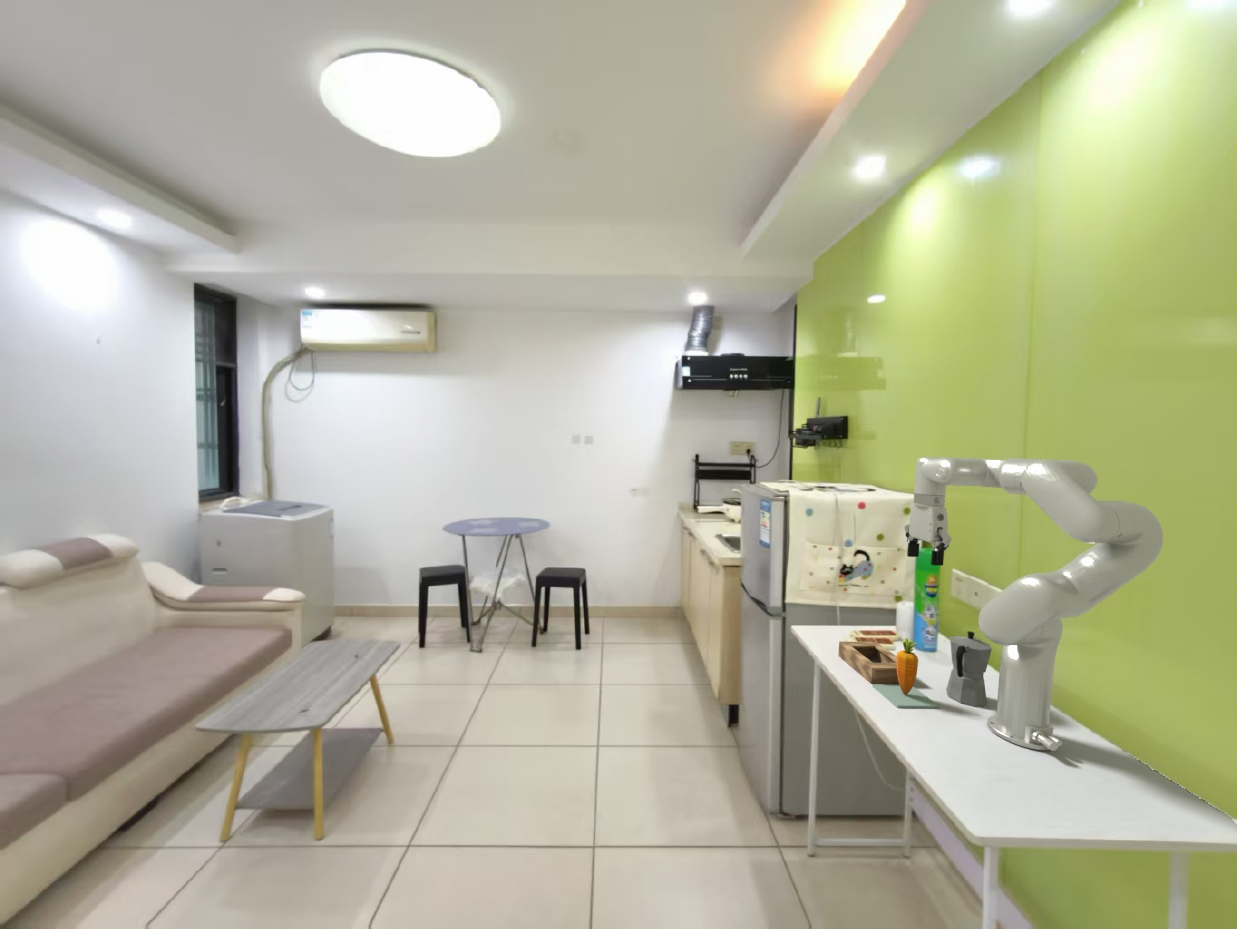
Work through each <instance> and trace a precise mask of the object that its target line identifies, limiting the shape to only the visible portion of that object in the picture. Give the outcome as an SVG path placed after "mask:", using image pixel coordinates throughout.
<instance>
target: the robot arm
mask: <svg viewBox="0 0 1237 929" xmlns="http://www.w3.org/2000/svg"><path fill="white" fill-rule="evenodd" d="M1097 484H1098V476H1097V473H1096V471H1095V470H1094V469H1093V468H1092V467H1091V466H1090V465H1088V464H1086V463H1084V462H1081V461H1077V460H1072V459H1070V460H1069V459H1051V458H1050V459H1048V458H1027V457H1026V458H1023V457H1022V458H1021V457H1010V458H1008V459H995V458H994V459H993V458H991V459H989V458H976V457H974V458H972V457H952V456H951V457H938V456H937V457H936V456H921V457H918V458H917V460H916V465H915V479H914V491H913V492H914V493H913V504H912V507H911V512H910V517H909V523H907V524H906V525H904V531H905V537H906V543H907V551H906V552H907V553H906V556H907V557H908V558H919V556H920V555H919V554H920V543H919V541H923V542H927V543H930V545H931V546H932V550H931V558H930V565H931V566H944V558H945V556H944V555H945V552H946V551H947V549H948V548H949V546H950V543H951V542H952V537H951V535H949V533H948V532H949V524H948V523H949V522H948V521H949V520H948V519H949V518H948V512H947V507H946V505H945V504H946V494H947V493H946V492H947V486H951V487H952V486H954V487H961V486H963V487H980V488H981V487H982V488H983V487H984V488H994V489H1002V490H1004V492H1007V493H1008V494H1014V495H1015V494H1016V495H1024V496H1026V495H1027V496H1029V498H1030V499H1031V500H1032V501H1033V502H1034V503H1035V504H1036V505H1037V506H1038V507H1039V508H1040V510H1041V511H1043V513H1044V514H1045V515H1046V516H1048V517H1049V519H1050V520H1051V521H1053V522H1054V523H1055V525H1057V527H1058V528H1060V530H1062V531H1063V533H1065V534H1066V535H1068V536H1069V537H1071V538H1072V539H1073V540H1076V541H1078V542H1081V543H1086V544H1093V546H1091V547H1090V548H1088V549H1086V550H1084V551H1083V552H1081V553H1080V554H1078V555H1077V556H1076V557H1074V559H1072V560H1071V561H1070V562H1069V563H1067V564H1066V565H1064V566H1063V567H1061V568H1059V569H1057V570H1054V571H1050V572H1049V571H1048V572H1039V573H1038V572H1037V573H1029V574H1027V575H1024V576H1021V577H1019V578H1017V579H1015V580H1014V581H1013V582H1011V584H1009V585H1008V586H1007V587H1005V588H1003V590H1001V591H1000V592H999V593H998V594H997V595H995V596H993V598H991V600H990V601H988V602H987V603H986V604H985V605H984V606H983V607H982V608H981V610H980V612H979V614H978V620H977V621H978V626H979V630H980V631H981V633H982V634H983V635H984V637H986V638H987V639H988V640H989V641H990V642H992V643H994V644H997V645H1000V646H1002V649H1001V653H1000V662H999V664H1000V665H999V675H998V676H999V677H998V687H997V688H998V689H997V698H996V699H997V701H996V714H995V715H991V716H988V717H987V721H986V722H987V727H988V728H989V730H991V731H992V733H994V734H995V735H997V736H999V737H1000V738H1002V739H1003V740H1006V741H1007V742H1010V743H1012V744H1014V745H1017V746H1020V747H1023V748H1027V749H1031V750H1037V751H1052V752H1055V751H1057V750H1058V748H1059V747H1061V746H1062V745H1063V741H1061V739H1059V738H1057V737H1055V735H1054V727H1053V726H1051V725H1050V717H1051V716H1050V715H1051V704H1052V692H1053V682H1054V680H1053V679H1054V674H1055V662H1056V656H1057V652H1058V648H1059V646H1060V643H1061V639H1062V635H1063V621H1062V619H1069V618H1075V617H1076V618H1077V617H1079V616H1082V615H1084V614H1086V613H1087V612H1089V611H1090V610H1091V609H1093V608H1094V607H1095V606H1097V605H1098V604H1100V603H1101V602H1102V601H1104V600H1105V599H1107V598H1108V597H1110V596H1111V595H1113V594H1114V593H1116V591H1118V590H1119V589H1120V588H1122V587H1124V586H1125V585H1126V584H1128V583H1130V582H1131V581H1132V580H1135V578H1137V577H1138V576H1140V575H1141V574H1142V573H1144V572H1145V571H1146V570H1147V569H1149V567H1150V566H1151V565H1153V563H1154V562H1155V561H1156V559H1157V558H1158V557H1159V555H1160V553H1161V551H1162V550H1163V549H1162V548H1163V544H1164V532H1163V528H1162V525H1161V523H1160V520H1159V519H1158V518H1157V516H1156V515H1155V514H1154V513H1153V512H1152V511H1151V510H1150V509H1148V508H1147V507H1145V506H1143V505H1141V504H1138V503H1135V502H1130V501H1125V500H1124V501H1123V500H1097V499H1095V498H1094V497H1093V496H1092V495H1091V493H1092V492H1094V490H1095V489H1096V487H1097V486H1098V485H1097Z"/></svg>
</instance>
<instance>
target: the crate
mask: <svg viewBox="0 0 1237 929" xmlns="http://www.w3.org/2000/svg"><path fill="white" fill-rule="evenodd" d="M837 655H838V657H839V658H840V659H842V661H843V662H845V663H846V664H847V665H848V666H849V667H850V668H852V669H853V671H855V672H856V673H857V674H859V675H860V676H861V677H863V679H865V680H866V681H867V682H869V684H871V685H873V684H897V685H899V682H898V676H897V655H896V654H894V653H893V652H891V651H890V650H888V649H886V648H885V647H884V646H882V644H880V643H878V642H877V641H839V642H838V654H837ZM869 658H870V659H871V658H872V659H873V658H874V659H875V660H876V661H878V662H872V661H871V660H870V659H869Z"/></svg>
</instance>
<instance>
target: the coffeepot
mask: <svg viewBox="0 0 1237 929" xmlns="http://www.w3.org/2000/svg"><path fill="white" fill-rule="evenodd" d="M966 632H967V636H962V635H957V636H949V641H950V653H951V663H952V665H953V666H952V669H951V670H950V671H951V672H950V675H949V679H948V683H947V685H946V690H945V691H946V695H947V696H948V697H949V698H950V699H952V700H953V701H955V702H957V703H960V704H962V705H966V706H970V707H977V708H978V707H979V708H980V707H981V708H982V707H984V706H986V705H988V702H987V693H986V692H987V691H986V686H985V678H984V674H985V673H986V672H987V668H988V665H989V660H990V657H991V653H992V647H991V645H990V643H987V642H984V641H982V639H980V638H977V637H974V636H975V634H976V633H975V632H974V631H970V630H969V631H966Z"/></svg>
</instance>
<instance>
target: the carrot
mask: <svg viewBox="0 0 1237 929" xmlns="http://www.w3.org/2000/svg"><path fill="white" fill-rule="evenodd" d="M902 645H903V649H904V650H899V651H897V652H896V656H897V676H898V682H899V684H898V685H900V688H901V690H902V692H903V694H904V695H907V694H908V693H909V692H910V690H911V689H912V687H914V685H915V682H916V678H917V673H918V666H919V657H918V656H917V654H915V653H914V652H913V651H914V647H915V646H917V645H918V642H914V641H913V640H912V639H911V640H910V639H909V641H908V638H907V637H905V638H904V639H903V640H902Z"/></svg>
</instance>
